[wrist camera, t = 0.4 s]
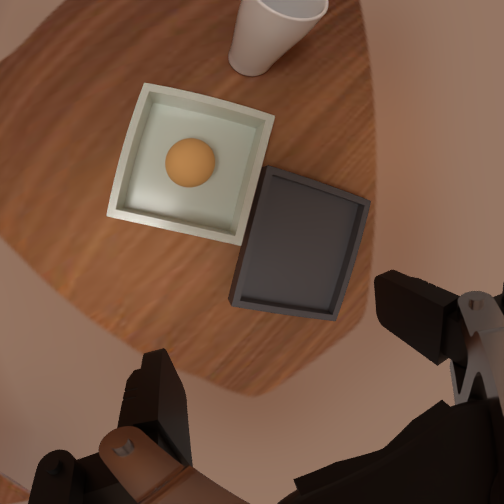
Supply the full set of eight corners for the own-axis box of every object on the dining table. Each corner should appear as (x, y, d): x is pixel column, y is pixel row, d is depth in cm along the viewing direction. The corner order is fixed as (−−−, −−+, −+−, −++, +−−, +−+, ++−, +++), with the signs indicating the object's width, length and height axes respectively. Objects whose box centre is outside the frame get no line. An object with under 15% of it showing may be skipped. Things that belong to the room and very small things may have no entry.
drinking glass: (282, 79, 31) (341, 22, 17) (229, 87, 30) (263, 22, 16) (267, 35, 30) (313, -32, 15) (215, 42, 28) (239, -34, 14)
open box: (149, 97, 28) (144, 82, 24) (262, 126, 32) (275, 115, 27) (117, 212, 30) (106, 216, 25) (232, 238, 34) (241, 245, 29)
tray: (261, 167, 33) (267, 165, 31) (360, 200, 37) (370, 201, 34) (228, 298, 35) (231, 306, 33) (327, 314, 39) (335, 321, 36)
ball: (173, 138, 29) (172, 128, 24) (217, 148, 30) (224, 140, 26) (161, 182, 30) (157, 180, 25) (206, 192, 31) (210, 192, 26)
